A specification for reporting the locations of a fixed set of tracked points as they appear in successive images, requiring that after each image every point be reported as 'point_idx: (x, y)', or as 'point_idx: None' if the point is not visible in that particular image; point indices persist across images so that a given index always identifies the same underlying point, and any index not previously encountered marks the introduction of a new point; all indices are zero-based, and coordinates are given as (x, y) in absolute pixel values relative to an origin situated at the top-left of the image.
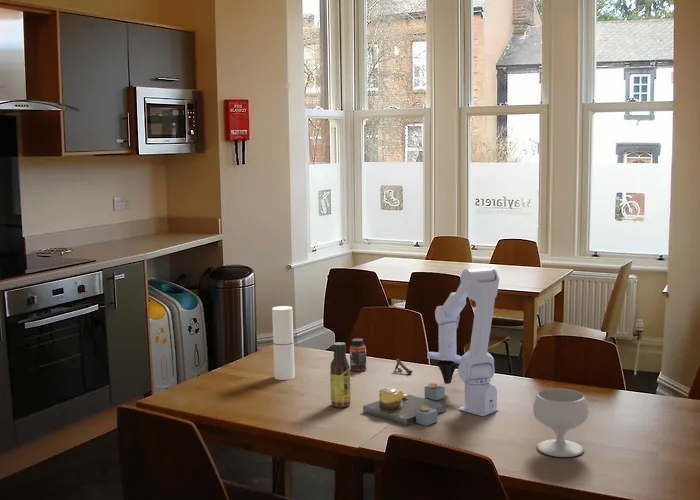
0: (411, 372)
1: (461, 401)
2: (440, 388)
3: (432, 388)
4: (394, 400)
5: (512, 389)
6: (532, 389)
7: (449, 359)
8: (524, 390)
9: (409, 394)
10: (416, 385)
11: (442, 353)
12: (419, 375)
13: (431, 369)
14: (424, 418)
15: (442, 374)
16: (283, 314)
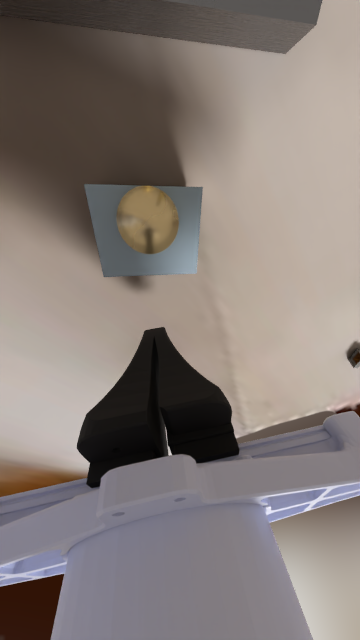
0: (351, 362)
1: (22, 275)
2: (99, 240)
3: (129, 190)
4: None
5: (57, 437)
6: (30, 458)
7: (66, 516)
8: (32, 447)
9: (247, 9)
10: (299, 300)
11: (168, 624)
12: (322, 364)
13: (308, 402)
14: None
15: (173, 351)
16: None
